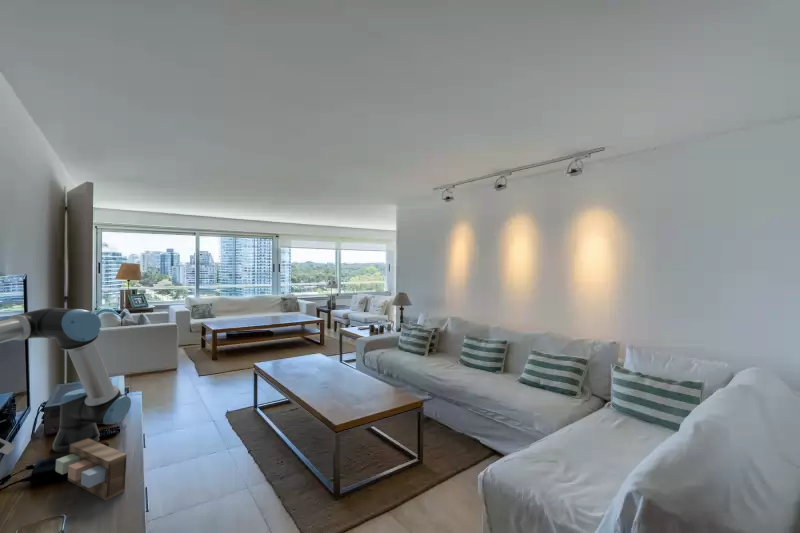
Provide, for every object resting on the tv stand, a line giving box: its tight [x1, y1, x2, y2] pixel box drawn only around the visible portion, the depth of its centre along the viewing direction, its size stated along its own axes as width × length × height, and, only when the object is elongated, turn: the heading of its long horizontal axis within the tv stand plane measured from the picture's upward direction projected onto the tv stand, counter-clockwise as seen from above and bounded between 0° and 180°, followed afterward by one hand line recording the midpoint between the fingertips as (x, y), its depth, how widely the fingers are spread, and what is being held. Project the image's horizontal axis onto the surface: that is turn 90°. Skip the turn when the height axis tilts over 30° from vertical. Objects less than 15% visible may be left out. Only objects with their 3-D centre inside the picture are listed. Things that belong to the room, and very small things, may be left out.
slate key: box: [81, 465, 106, 488], centre depth 120 cm, size 4×5×4 cm
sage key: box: [54, 453, 80, 476], centre depth 127 cm, size 4×5×4 cm
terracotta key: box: [67, 459, 93, 481], centre depth 124 cm, size 4×5×4 cm
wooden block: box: [67, 438, 128, 501], centre depth 128 cm, size 24×6×13 cm, turn 66°
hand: (8, 448), depth 113 cm, fingers open, 3 cm apart
